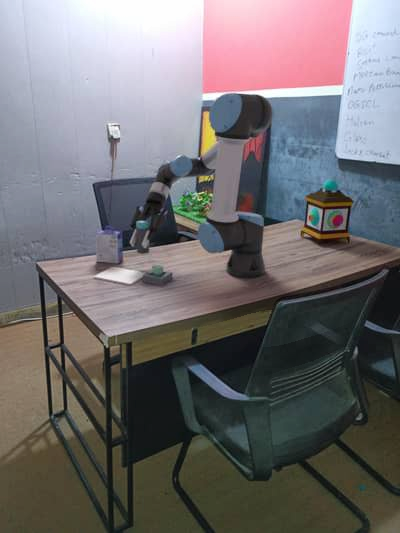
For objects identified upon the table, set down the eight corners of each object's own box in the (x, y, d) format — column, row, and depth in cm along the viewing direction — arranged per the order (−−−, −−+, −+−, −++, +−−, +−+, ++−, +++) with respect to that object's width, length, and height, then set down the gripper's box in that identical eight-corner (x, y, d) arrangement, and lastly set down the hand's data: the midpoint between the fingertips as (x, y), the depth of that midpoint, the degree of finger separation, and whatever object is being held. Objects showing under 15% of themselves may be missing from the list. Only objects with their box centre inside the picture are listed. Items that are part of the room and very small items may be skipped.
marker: (151, 250, 172) (150, 221, 168) (145, 254, 168) (144, 223, 164) (141, 249, 174) (139, 220, 170) (134, 252, 169) (133, 222, 166)
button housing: (172, 278, 161) (172, 271, 161) (162, 285, 154) (162, 278, 154) (153, 274, 164) (153, 268, 164) (142, 281, 158) (142, 275, 157)
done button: (165, 274, 160) (165, 266, 159) (159, 277, 156) (159, 269, 155) (155, 272, 161) (155, 264, 160) (150, 275, 158) (150, 267, 157)
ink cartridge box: (124, 259, 180) (122, 226, 175) (119, 264, 175) (117, 229, 170) (101, 257, 182) (99, 224, 177) (96, 262, 177) (94, 227, 172)
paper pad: (147, 274, 164) (147, 273, 164) (130, 285, 154) (130, 283, 154) (112, 268, 170) (112, 266, 170) (93, 277, 160) (93, 276, 160)
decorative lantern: (296, 236, 221) (302, 176, 211) (329, 233, 227) (337, 175, 217) (317, 247, 203) (325, 183, 193) (353, 244, 209) (362, 181, 199)
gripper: (180, 203, 175) (161, 253, 166) (142, 200, 182) (122, 247, 173) (174, 192, 169) (154, 243, 160) (135, 189, 176) (114, 237, 166)
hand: (137, 245), depth 166 cm, fingers closed on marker, 5 cm apart
